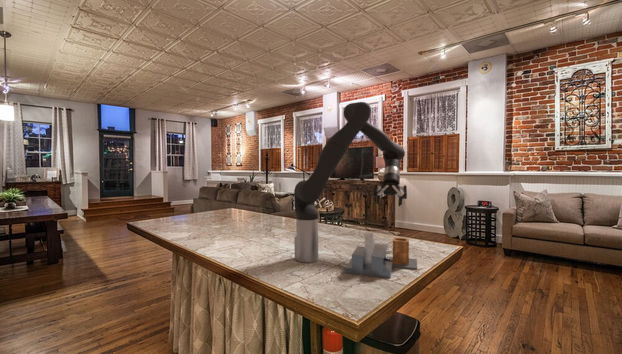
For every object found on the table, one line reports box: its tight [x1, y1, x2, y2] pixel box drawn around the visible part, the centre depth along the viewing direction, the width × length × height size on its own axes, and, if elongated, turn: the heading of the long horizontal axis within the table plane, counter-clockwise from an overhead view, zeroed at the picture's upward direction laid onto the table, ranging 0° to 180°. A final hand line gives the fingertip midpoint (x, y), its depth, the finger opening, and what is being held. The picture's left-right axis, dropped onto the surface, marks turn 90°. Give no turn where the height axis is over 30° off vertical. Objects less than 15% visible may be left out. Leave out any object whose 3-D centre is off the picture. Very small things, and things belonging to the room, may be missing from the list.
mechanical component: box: [374, 240, 393, 255], centre depth 134 cm, size 10×4×10 cm
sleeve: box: [392, 236, 410, 265], centre depth 116 cm, size 6×6×9 cm
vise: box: [344, 231, 394, 279], centre depth 109 cm, size 16×12×14 cm
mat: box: [386, 255, 418, 271], centre depth 116 cm, size 12×12×1 cm
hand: (389, 204), depth 124 cm, fingers open, 8 cm apart
